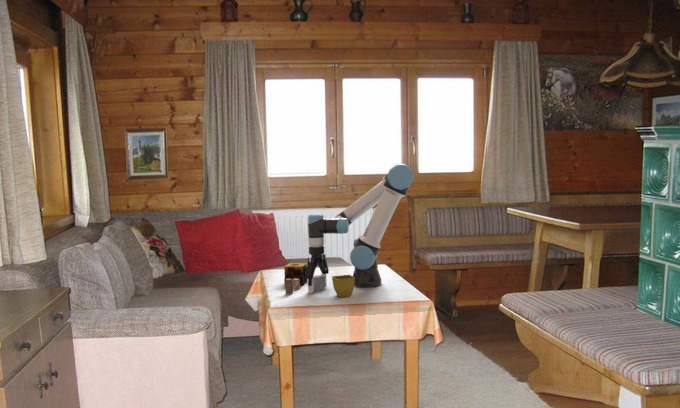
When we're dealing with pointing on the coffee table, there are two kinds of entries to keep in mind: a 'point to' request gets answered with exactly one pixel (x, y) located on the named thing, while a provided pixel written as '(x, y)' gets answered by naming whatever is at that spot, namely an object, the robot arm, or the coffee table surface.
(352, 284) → the flower pot
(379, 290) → the coffee table surface
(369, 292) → the coffee table surface
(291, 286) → the walnut post
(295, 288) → the oak post
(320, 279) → the grey matte cube
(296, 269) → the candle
